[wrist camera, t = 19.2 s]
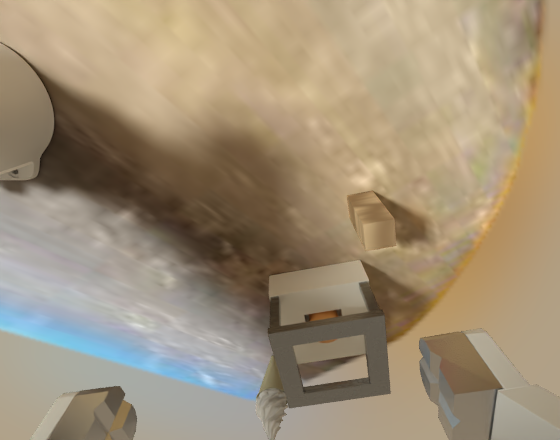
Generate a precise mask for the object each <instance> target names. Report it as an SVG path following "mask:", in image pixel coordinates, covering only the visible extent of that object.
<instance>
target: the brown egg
mask: <svg viewBox="0 0 560 440" xmlns="http://www.w3.org/2000/svg"><path fill="white" fill-rule="evenodd" d="M308 315H309V321H315V320H321V319H327V318H333V317H338V314H337V310H332V311H326V312H319V313H313V314H308ZM335 340H337V339H332V340H326V341H320V343H330V342H333V341H335Z"/></svg>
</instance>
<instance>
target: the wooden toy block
mask: <svg viewBox="0 0 560 440" xmlns="http://www.w3.org/2000/svg"><path fill="white" fill-rule="evenodd" d="M347 200H348V209H349V218H350V220H351V222H352V224H353V226H354V228H355V230H356V232H357V234H358V236H359V238H360V240H361V242H362V245H363V247H364V249H365V251H369V250H375V249H381V248H387V247H392V246H396V235H395V219H394V217H393V216H392V215H391V214H390V212H389V211H388V210H387V209H386V207H385V206H384V205H383V203H382V202H381V201H380V200H379V198H378V197H377V196H376V195H375V193H374V192H373V191H368V192H363V193H358V194H352V195H347Z"/></svg>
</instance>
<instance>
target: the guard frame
mask: <svg viewBox="0 0 560 440" xmlns="http://www.w3.org/2000/svg"><path fill="white" fill-rule="evenodd" d="M359 289H360V292H361V295H362V297H363V300H364V303H365V305H366V308H367V310H368V312H364V313H358V314H351V315H345V316H339V317H333V318H327V319H321V320H315V321H309V322H302V323H296V324H290V325H284V326H281V305H280V299H279V296H277V297H271V298H270V328H268V337H269V340H270V344H271V347H272V351H273V354H274V358H275V361H276V365H277V368H278V371H279V375H280V378H281V382H282V385H283V389H284V392H285V396H286V399H287V403H288V406H289V408H294V407H301V406H308V405H315V404H322V403H329V402H336V401H343V400H350V399H356V398H364V397H370V396H377V395H384V394H390V380H389V368H388V354H387V341H386V328H385V315H384V313H383V311H382V310H380V309H379V307H378V304H377V302H376V300H375V297H374V295H373V293H372V290H371V288H370V286H369V284H368V281H365V282H359ZM358 335H364V341H365V350H366V358H367V367H368V375H369V377H368V378H362V379H355V380H348V381H342V382H335V383H328V384H321V385H315V386H308V387H303V384H302V380H301V376H300V372H299V368H298V364H297V360H296V356H295V352H294V348H293V346H295V345H301V344H307V343H314V342H320V341H326V340H332V339H339V338H345V337H351V336H358Z"/></svg>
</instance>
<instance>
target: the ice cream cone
mask: <svg viewBox="0 0 560 440" xmlns="http://www.w3.org/2000/svg"><path fill="white" fill-rule="evenodd" d="M286 404H287V399H286V396H285V392H284V389H283V385H282V382H281V378H280V375H279V371H278V368H277V365H276V361H275V358H274V356H271V359H270V362H269V365H268V368H267V370H266V373H265V376H264V379H263V382H262V385H261V388H260V391H259V393H258V395H257V397H256V414H257V416H258V417H259V418H260V419H261V421H262V422H263V429H264V431H265V432H266V434H267V437H268V439H269V440H274V439H275V437H276V434H277V432H278V431H279V429H280V427H279V425H280V423H281V421H283V420H282V417H283V416H285V415H287V414H286V413H284V409H286V408H287V407H288V405H286Z"/></svg>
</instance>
